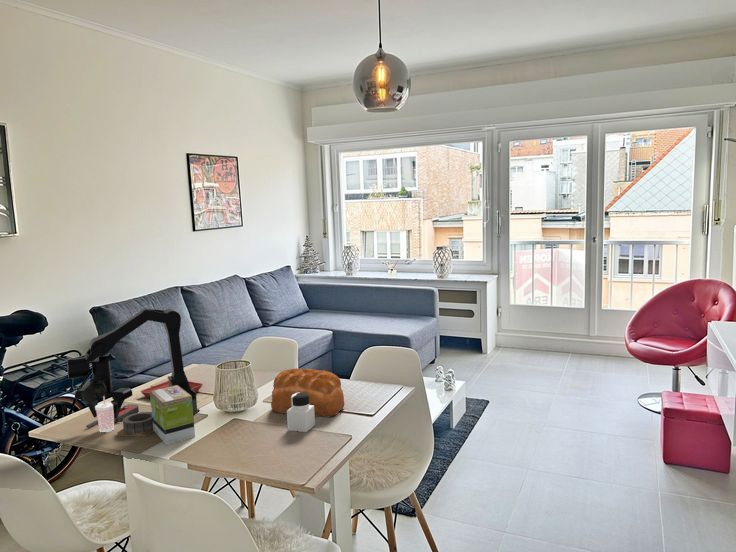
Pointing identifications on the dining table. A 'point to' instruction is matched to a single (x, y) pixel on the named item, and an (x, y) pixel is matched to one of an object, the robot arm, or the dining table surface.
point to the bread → (308, 390)
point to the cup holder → (137, 424)
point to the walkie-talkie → (121, 413)
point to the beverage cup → (105, 416)
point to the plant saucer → (146, 392)
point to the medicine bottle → (300, 413)
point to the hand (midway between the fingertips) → (105, 417)
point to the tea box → (172, 414)
